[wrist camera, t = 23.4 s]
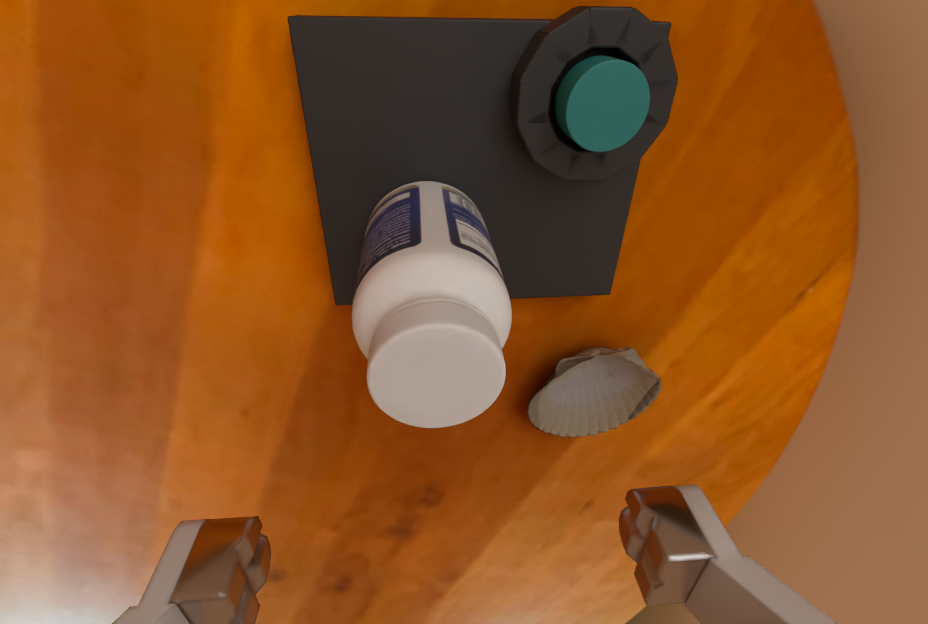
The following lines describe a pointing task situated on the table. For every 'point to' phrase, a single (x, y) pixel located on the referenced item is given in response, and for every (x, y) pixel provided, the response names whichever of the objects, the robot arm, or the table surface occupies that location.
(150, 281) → the table surface
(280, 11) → the table surface
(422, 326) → the pill bottle
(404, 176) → the black button board
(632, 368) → the seashell
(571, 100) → the button
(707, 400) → the table surface
